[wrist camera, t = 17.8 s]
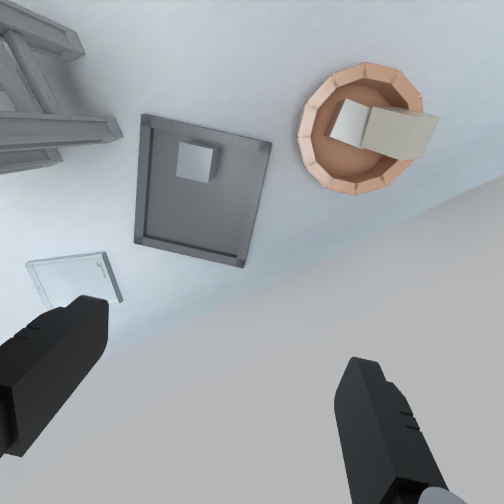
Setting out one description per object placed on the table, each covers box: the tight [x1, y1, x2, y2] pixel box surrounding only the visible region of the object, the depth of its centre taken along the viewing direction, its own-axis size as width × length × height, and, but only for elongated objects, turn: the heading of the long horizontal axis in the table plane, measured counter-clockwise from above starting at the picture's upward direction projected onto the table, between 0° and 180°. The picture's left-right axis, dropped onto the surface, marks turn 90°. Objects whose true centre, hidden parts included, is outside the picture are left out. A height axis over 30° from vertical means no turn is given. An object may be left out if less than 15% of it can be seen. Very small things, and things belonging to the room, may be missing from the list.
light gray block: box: [176, 141, 221, 183], centre depth 34 cm, size 4×4×4 cm
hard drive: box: [26, 251, 123, 310], centre depth 45 cm, size 2×8×12 cm
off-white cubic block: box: [361, 106, 439, 161], centre depth 28 cm, size 4×4×4 cm
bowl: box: [296, 62, 423, 195], centre depth 32 cm, size 12×12×5 cm
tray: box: [134, 114, 271, 268], centre depth 38 cm, size 16×15×1 cm
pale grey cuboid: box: [324, 99, 372, 149], centre depth 31 cm, size 4×4×4 cm
